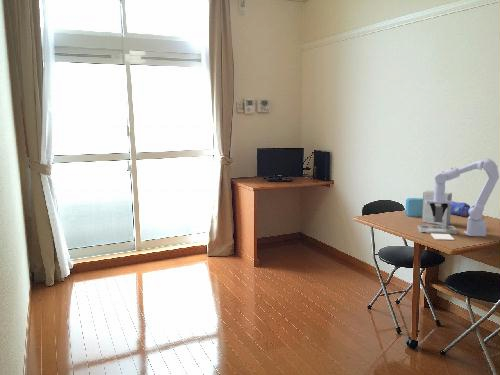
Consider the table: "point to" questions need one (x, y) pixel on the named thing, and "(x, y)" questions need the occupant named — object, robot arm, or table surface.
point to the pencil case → (460, 209)
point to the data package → (414, 207)
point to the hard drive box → (427, 211)
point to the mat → (442, 236)
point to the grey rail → (437, 229)
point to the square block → (438, 214)
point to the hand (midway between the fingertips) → (437, 215)
